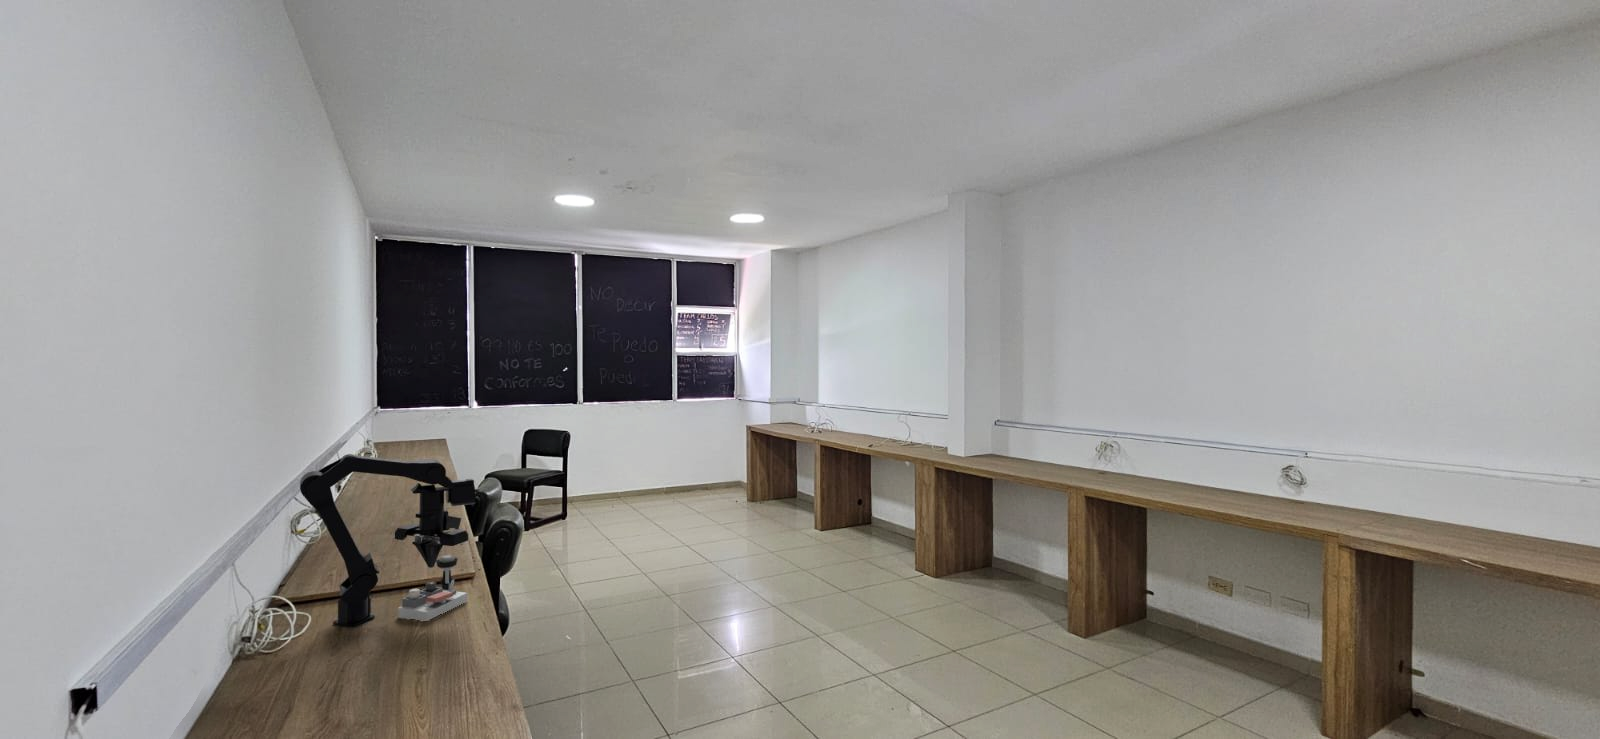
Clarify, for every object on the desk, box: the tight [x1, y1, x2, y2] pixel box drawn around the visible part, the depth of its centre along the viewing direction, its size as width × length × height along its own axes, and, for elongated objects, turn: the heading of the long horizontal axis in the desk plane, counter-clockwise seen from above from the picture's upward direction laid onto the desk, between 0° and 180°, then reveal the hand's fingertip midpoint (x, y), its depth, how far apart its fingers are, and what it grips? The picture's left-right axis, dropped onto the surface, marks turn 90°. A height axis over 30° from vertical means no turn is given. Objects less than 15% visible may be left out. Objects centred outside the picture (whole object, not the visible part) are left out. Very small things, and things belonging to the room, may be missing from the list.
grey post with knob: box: [435, 554, 459, 590], centre depth 193 cm, size 7×5×10 cm
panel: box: [397, 579, 468, 621], centre depth 180 cm, size 14×9×6 cm, turn 165°
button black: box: [425, 581, 437, 592], centre depth 182 cm, size 2×2×2 cm
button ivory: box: [408, 588, 421, 600], centre depth 177 cm, size 2×2×2 cm
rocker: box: [426, 591, 453, 603], centre depth 178 cm, size 6×3×1 cm, turn 165°
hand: (431, 567), depth 182 cm, fingers closed
